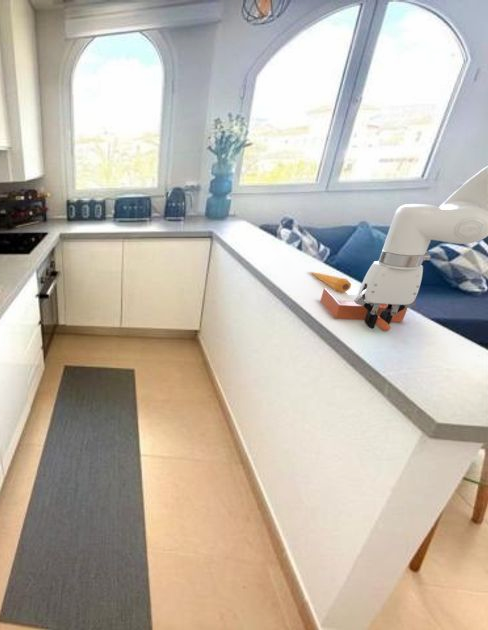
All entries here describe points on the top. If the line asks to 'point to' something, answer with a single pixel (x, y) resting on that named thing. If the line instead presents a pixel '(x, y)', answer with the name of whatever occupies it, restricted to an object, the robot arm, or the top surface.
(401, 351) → the top surface
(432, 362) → the top surface
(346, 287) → the carrot
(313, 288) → the top surface
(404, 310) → the dustpan
